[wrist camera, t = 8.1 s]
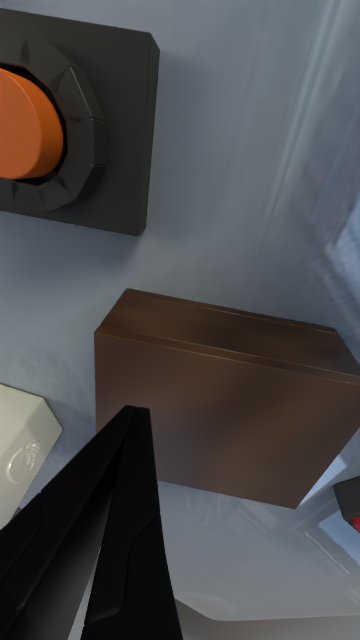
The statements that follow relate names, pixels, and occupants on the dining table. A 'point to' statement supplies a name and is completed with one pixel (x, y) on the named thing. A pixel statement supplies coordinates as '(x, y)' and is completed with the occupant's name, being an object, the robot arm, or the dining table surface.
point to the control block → (87, 119)
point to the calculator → (349, 501)
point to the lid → (228, 414)
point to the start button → (27, 129)
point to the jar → (22, 445)
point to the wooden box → (232, 331)
